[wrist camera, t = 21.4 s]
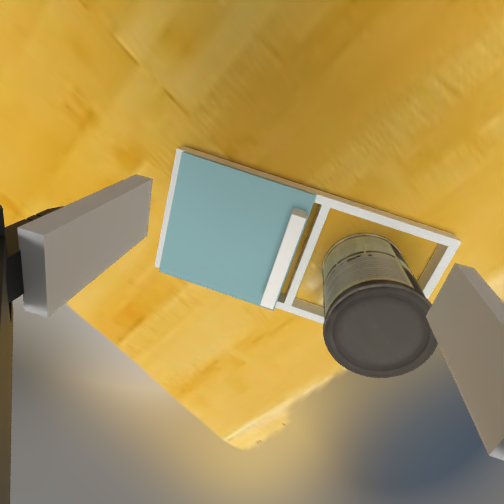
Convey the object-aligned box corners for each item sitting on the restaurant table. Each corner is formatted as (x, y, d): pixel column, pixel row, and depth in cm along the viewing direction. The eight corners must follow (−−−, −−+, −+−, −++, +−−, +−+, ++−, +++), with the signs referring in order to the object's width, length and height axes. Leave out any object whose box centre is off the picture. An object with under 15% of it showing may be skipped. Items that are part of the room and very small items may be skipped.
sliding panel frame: (184, 146, 43) (176, 148, 41) (453, 234, 42) (461, 241, 39) (162, 258, 50) (154, 266, 47) (394, 338, 48) (398, 349, 46)
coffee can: (423, 260, 44) (467, 325, 31) (369, 317, 48) (389, 395, 35) (353, 216, 43) (369, 263, 30) (306, 278, 47) (302, 342, 34)
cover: (183, 151, 41) (172, 155, 37) (316, 194, 40) (316, 202, 37) (160, 269, 47) (148, 281, 44) (274, 308, 46) (270, 323, 43)
